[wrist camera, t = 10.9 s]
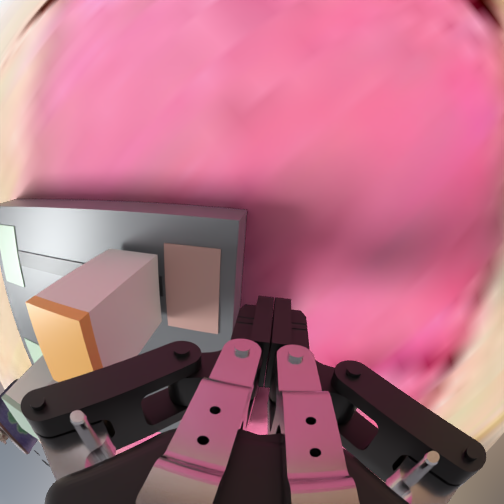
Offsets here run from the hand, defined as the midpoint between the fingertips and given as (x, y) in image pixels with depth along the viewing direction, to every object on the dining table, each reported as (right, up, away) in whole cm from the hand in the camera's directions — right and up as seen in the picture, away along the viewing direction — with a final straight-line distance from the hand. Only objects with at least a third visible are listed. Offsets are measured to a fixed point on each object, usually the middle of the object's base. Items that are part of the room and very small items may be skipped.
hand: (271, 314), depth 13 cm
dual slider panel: (-12, -3, +7) cm, 14 cm away
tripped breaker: (-7, +1, +2) cm, 8 cm away
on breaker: (-18, -8, +6) cm, 21 cm away
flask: (-36, -21, +16) cm, 44 cm away
